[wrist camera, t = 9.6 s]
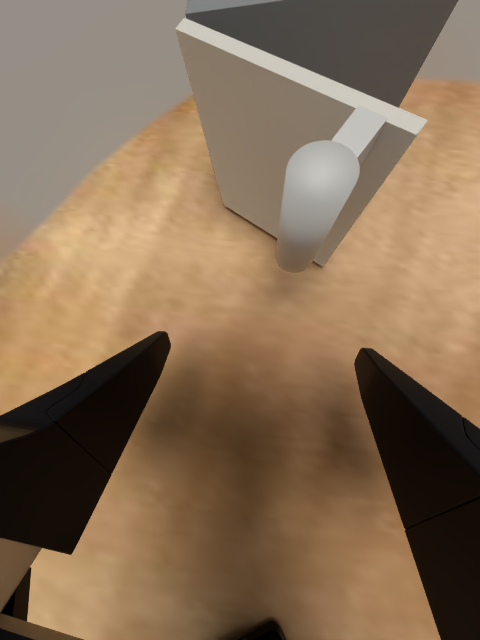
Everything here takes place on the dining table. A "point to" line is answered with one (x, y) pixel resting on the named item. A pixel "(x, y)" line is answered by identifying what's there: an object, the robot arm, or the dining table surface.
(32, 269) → the dining table surface
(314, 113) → the white square panel
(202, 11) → the carton
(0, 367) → the dining table surface
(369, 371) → the robot arm
